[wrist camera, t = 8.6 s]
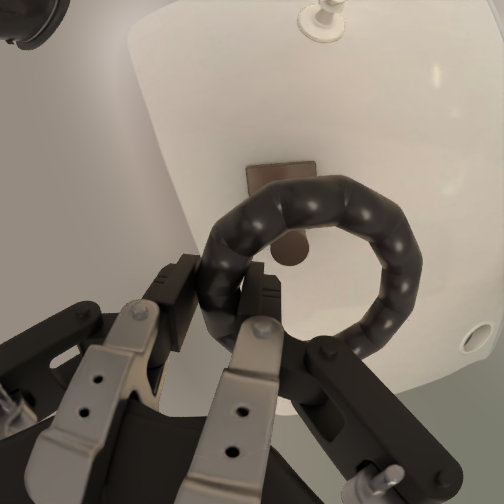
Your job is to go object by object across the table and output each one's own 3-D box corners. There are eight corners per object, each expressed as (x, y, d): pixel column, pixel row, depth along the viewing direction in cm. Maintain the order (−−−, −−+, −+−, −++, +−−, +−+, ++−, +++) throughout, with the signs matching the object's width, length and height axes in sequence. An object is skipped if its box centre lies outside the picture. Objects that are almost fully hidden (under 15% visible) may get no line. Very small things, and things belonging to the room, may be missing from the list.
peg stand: (246, 166, 28) (225, 199, 16) (314, 160, 27) (345, 190, 15) (254, 228, 31) (241, 299, 19) (317, 223, 30) (343, 291, 18)
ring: (179, 190, 10) (164, 203, 9) (416, 167, 9) (439, 176, 8) (225, 362, 14) (222, 387, 13) (393, 342, 14) (404, 364, 12)
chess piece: (291, 8, 19) (298, -37, 10) (335, 3, 18) (359, -39, 9) (306, 45, 21) (321, 10, 12) (350, 40, 20) (384, 7, 11)
